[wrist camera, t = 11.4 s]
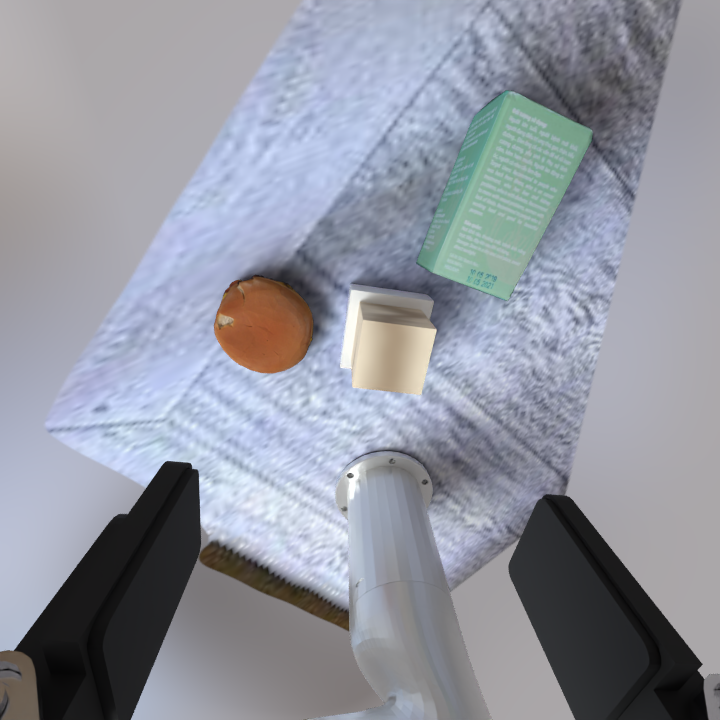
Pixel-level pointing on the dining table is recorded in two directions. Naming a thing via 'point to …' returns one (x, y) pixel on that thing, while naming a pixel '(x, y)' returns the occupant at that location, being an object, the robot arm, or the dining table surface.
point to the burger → (264, 325)
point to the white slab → (376, 297)
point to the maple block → (391, 348)
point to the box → (503, 193)
